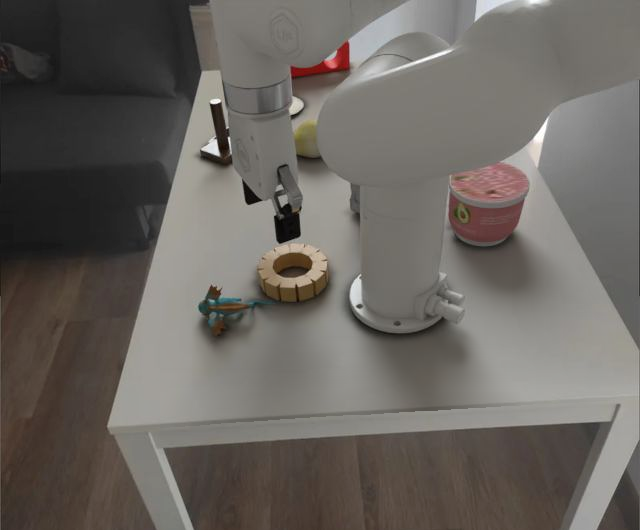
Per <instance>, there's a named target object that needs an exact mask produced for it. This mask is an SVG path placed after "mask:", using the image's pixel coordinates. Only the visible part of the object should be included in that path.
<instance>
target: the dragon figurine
mask: <svg viewBox="0 0 640 530" xmlns="http://www.w3.org/2000/svg"><path fill="white" fill-rule="evenodd" d="M222 290H223V287H221V288H220V289H218V285H216V286H213V284H210V286H209V287H208V291H207V293H206V295H205V296H204V299H203V300H201V301H199V303H198V305H197V309H198V311H199V313H200V314H201V315H202V316H204V317H205V319H206V320H207V324H208V326H209V328H210V329H211V331H212V333H213V335H214V337H215V338H217V336H218V335H219V334H221V335H222V332H221V329H224V330H227V328H226V327H225V325H224V323H225V322H224V320H223V319H222V317H221V315H223V316H232V315H235V314H237V313H240V312H242V311H243V310H247V309H251V308H253V307H254V305H255V304H262V305H265V306H266V305H267V306H273V305H277V304H278V303H277V302H264V301H260V300H254V301H253V300H252V301H250V302H242V300H243V299H242V298H241V297H231V298H230V297H221V296H222ZM211 300H212V301H211ZM212 313H214V314H215V316H214V318H211V316H210V315H211V314H212ZM210 318H211V319H210Z"/></svg>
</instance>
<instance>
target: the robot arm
mask: <svg viewBox="0 0 640 530" xmlns="http://www.w3.org/2000/svg"><path fill="white" fill-rule="evenodd" d="M208 1H209V7H210V14H211V20H212V27H213V34H214V38H215V40H214V41H215V47H216V54H217V58H218V66H219V72H220V78H221V79H220V80H221V85H222V90H223V98H224V105H225V109H226V111H227V125H228V126H229V135H230V144H231V153H232V161H231V162H232V166H233V168H234V170H235V172H236V173H237V174H238V176H239V177H240V178H241V183H242V189H243V197H244V202H245V204H246V205H247V206H251V205H254V204H257V203H260V202H267V201H269V200H270V201H271V203H272V206H273V209H274V212H275V215H273V222H274V232H275V240H276V242H277V243H278V244H279V245H282V244H285V243H287V242H290V241H294V240H295V239H299V238H300V237H301V236H302V229H301V218H300V217H301V216H300V214H301V212H302V209H303V201H304V196H303V194H302V191H301V189H300V187H299V171H298V170H299V169H298V157H297V154H296V149H295V141H294V134H293V132H294V127H293V123H292V117H291V116H290V112H289V108H290V107H291V105H292V103H293V98H292V96H293V85H292V77H291V70H290V66H293V67H298V68H308V67H313V66H315V65H317V64H319V63H321V62H322V61H324V60H325V61H326V59H327V58H329V57H330V56H331V55H332V54H334V53H335V52H337V49H339V48H340V47H341V46H342V45H343V44H344V43H345V42H347V41H350V40H351V39H352V38H353V37H354V36H356V35H357V34H358V33H360V32H361V31H363V30H364V29H365V28H366V27H367V26H369V25H371V24H372V23H374V22H375V21H376V20H378V19H380V18H382V17H384V16H385V15H387V14H389V13H391V12H392V11H394V10H395V9H397V8H399V7H401V6H402V5H404V4H406V3H408V2H409V1H411V0H208ZM639 80H640V0H510V1H507V2H504V3H501V4H499V5H496V6H495V7H493V8H491V9H489V10H487V11H486V12H485V13H483V14H482V15H481V16H479V17H478V18H477V19H476V20H475V21H474V22H473V23H472V24H471V25H469V27H468V28H467V29H466V30H465V31H464V32H463V33H462V34H461V36H459V37H458V38H457V39H456V40H455V41H454V43H453V44H451V45H450V44H449V43H448V42H447V41H446V40H444V39H443V38H441V37H439V36H438V35H436V34H433V33H429V32H424V31H412V32H407V33H403V34H401V35H399V36H396V37H393V38H392V39H390V40H389V41H387V42H386V43H384V44H383V45H381V46H380V47H379V48H378V49H377V50H375V52H373V53H372V54H371V55H370V56H369V57H367V59H365V60H364V61H363V62H362V63H360V65H359V66H358V67H357V68H356V69H355V70H354V71H353V72H352V73H351V74H350V75H348V76H347V77H346V78H345V79H343V81H342V82H340V83H339V84H338V85H337V86H336V87H335V88H334V89H333V90H332V91H331V92H330V94H329V95H328V96H327V98H326V99H325V101H324V102H323V104H322V106H321V108H320V110H319V113H318V118H317V119H316V121H317V126H316V138H317V144H318V149H319V152H320V154H321V156H320V157H321V158H322V160H323V162H324V163H325V164H326V166H327V167H328V168H329V169H330V171H331V172H332V173H334V175H337V177H339V178H341V179H342V180H344V181H346V182H348V183H349V184H350V183H353V184H356V185H359V186H360V213H359V221H360V223H359V224H360V225H359V229H360V230H359V231H360V234H359V235H360V274H358V276H357V277H356V278H355V279H354V280H353V281H352V284H350V288H349V293H348V294H349V297H348V298H349V299H348V300H349V301H348V302H349V306H350V308H351V311H352V313H353V314H354V316H355V317H356V318H357V319H359V321H361V322H362V323H363V324H365V325H366V326H368V327H370V328H371V329H375V330H378V331H380V332H385V333H389V334H411V333H415V332H419V331H422V330H425V329H428V328H429V327H432V326H433V325H435V324H436V323H438V322H439V321H440V320H441V319H442V318H443V319H445V320H446V321H449V322H451V323H454V324H456V325H459V324H460V323H461V322H462V320H463V319H464V317H465V313H466V310H465V308H463V307H461V306H462V305H463V303H464V302H465V298H466V296H465V295H463V294H461V293H459V292H457V291H452V290H450V289H449V287H448V285H447V278H448V274H447V273H444V272H442V271H440V267H441V260H442V259H441V258H442V248H443V239H444V231H445V221H446V210H447V201H448V194H449V179H450V175H453V174H458V173H463V172H468V171H472V170H477V169H481V168H484V167H488V166H491V165H493V164H496V163H498V162H503V161H505V160H506V159H509V158H510V157H512V156H514V155H515V154H517V153H518V152H520V151H521V150H522V149H524V147H526V146H527V145H528V144H530V142H531V141H532V140H534V138H535V137H536V135H537V134H538V133H540V130H541V129H542V127H543V126H544V124H546V122H547V120H548V118H549V117H550V115H551V113H552V112H553V111H554V110H555V109H557V108H558V107H559V106H561V105H562V104H565V103H567V102H569V101H572V100H575V99H578V98H582V97H585V96H588V95H592V94H595V93H598V92H603V91H606V90H609V89H612V88H615V87H618V86H619V87H620V86H622V85H625V84H628V83H632V82H635V81H639ZM278 186H282V188H283V189H279V190H277V188H278ZM284 196H286V198H287V200H286V201H287V203H285V204H284V205H283V206H282V205H281V202H280V198H279V197H284ZM449 302H450V303H449Z"/></svg>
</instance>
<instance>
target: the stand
mask: <svg viewBox="0 0 640 530" xmlns="http://www.w3.org/2000/svg"><path fill="white" fill-rule="evenodd" d="M208 104H209V108H210V109H209V110H210V113H211V119H212V123H213V130H214V133H215V136H216V140H214V141H213V142H211V143H210V144H208V143H207V144H206V145H204V146H202V147H201V148H199V153H200V156H201V157H203V158H207V159H209V160H212V161H214V162H217V163H220V164H222V165H224V166H225V165H226V166H227V165H229V164H230V163H231V162H233V161H232V153H231V144H230V137H228V134H227V129H226V128H227V124H226V119H225V118H226V117H225V114H224V107H223V102H222V99H221V98H213V99H210V100H209V101H208Z"/></svg>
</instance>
